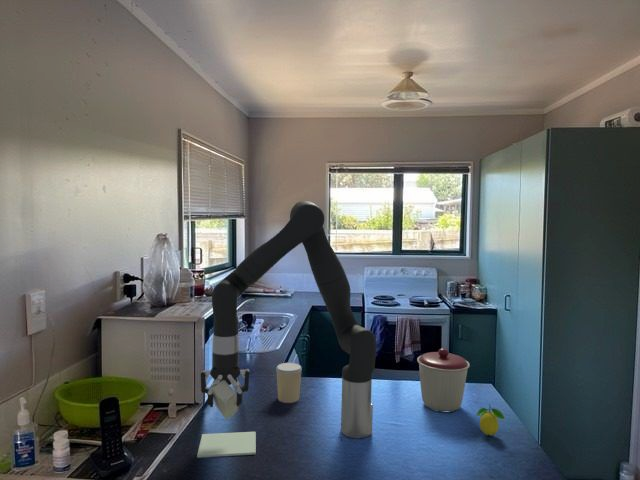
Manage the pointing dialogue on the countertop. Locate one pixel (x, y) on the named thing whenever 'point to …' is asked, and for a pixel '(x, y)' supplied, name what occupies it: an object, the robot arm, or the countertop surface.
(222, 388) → the skincare box
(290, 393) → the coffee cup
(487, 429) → the lemon
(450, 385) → the canister
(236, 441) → the mat
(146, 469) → the countertop surface
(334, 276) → the robot arm
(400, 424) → the countertop surface
